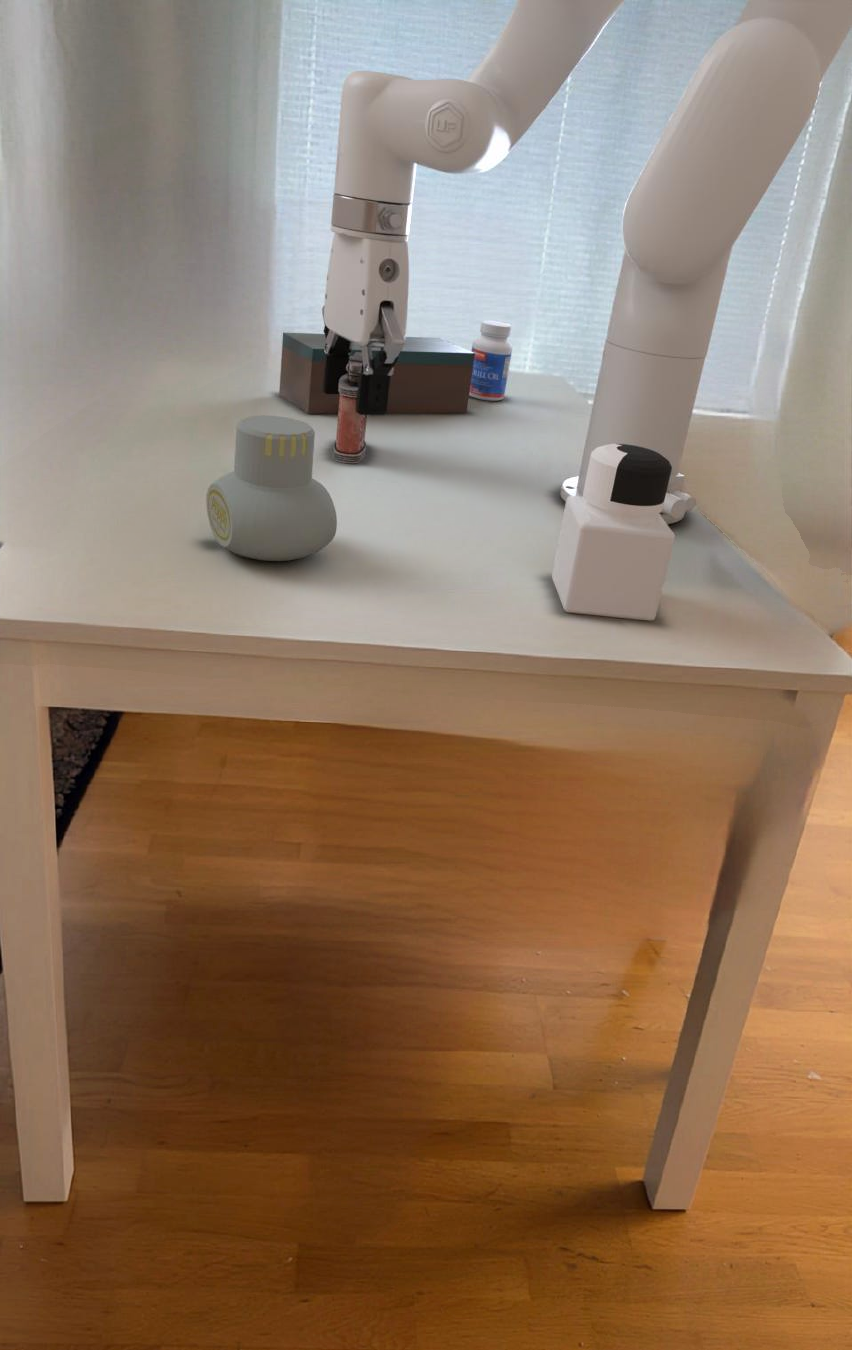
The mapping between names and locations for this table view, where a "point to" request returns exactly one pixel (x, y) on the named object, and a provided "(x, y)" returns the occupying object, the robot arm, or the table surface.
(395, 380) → the brown rectangular block
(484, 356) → the pill bottle
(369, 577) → the table surface
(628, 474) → the medicine bottle
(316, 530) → the air freshener
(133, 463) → the table surface
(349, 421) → the red smoke grenade
